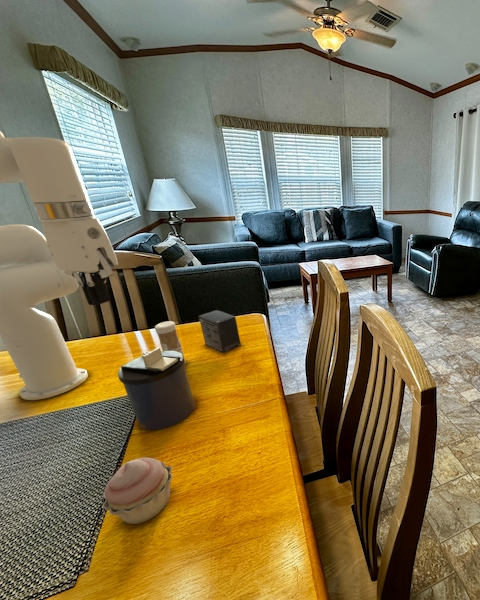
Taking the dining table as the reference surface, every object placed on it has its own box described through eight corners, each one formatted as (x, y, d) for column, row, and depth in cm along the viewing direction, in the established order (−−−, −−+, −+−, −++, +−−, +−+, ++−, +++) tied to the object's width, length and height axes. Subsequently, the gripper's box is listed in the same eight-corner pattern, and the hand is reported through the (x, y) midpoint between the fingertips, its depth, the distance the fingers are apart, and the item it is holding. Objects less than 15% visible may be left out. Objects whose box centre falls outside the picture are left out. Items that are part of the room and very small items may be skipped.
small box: (243, 345, 105) (236, 315, 101) (223, 354, 100) (216, 323, 96) (223, 337, 110) (217, 308, 106) (204, 345, 105) (196, 315, 101)
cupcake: (124, 491, 57) (104, 448, 53) (185, 475, 60) (170, 433, 57) (100, 544, 49) (75, 498, 45) (172, 522, 52) (154, 477, 48)
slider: (145, 368, 69) (140, 356, 68) (161, 358, 73) (157, 347, 72) (162, 371, 68) (158, 358, 67) (178, 361, 72) (174, 349, 71)
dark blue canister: (123, 427, 72) (101, 373, 67) (168, 393, 82) (152, 345, 77) (167, 434, 70) (148, 379, 64) (208, 399, 80) (194, 350, 75)
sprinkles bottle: (186, 367, 93) (174, 325, 88) (167, 372, 91) (154, 329, 86) (186, 360, 97) (174, 319, 92) (167, 364, 95) (154, 323, 90)
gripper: (118, 210, 63) (146, 298, 69) (58, 208, 65) (90, 294, 72) (75, 215, 56) (111, 313, 63) (9, 213, 59) (50, 307, 65)
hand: (100, 302), depth 67 cm, fingers closed
